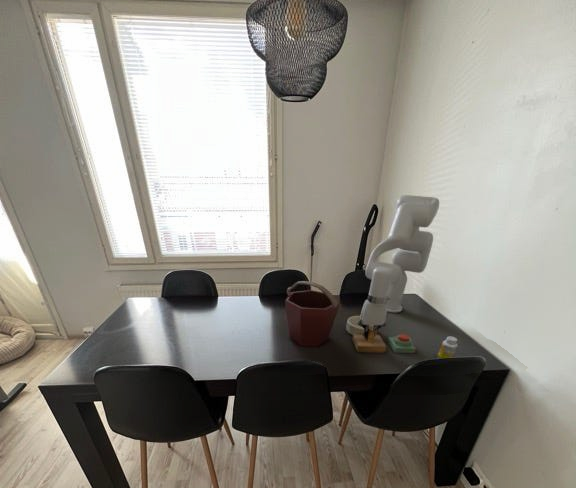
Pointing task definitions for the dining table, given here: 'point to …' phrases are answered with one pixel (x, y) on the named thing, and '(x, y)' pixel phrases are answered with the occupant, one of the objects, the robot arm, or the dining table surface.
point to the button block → (401, 345)
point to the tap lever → (370, 334)
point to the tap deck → (369, 344)
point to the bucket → (310, 314)
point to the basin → (355, 326)
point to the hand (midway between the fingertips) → (368, 337)
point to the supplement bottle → (448, 348)
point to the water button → (403, 338)
